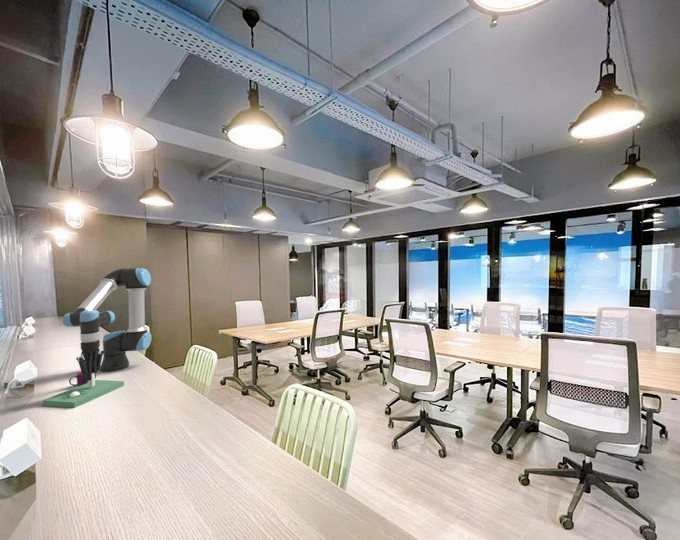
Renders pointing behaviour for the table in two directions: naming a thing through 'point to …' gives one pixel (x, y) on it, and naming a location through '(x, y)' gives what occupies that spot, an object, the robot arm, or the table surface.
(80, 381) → the mug
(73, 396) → the ball
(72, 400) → the green
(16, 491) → the table surface
